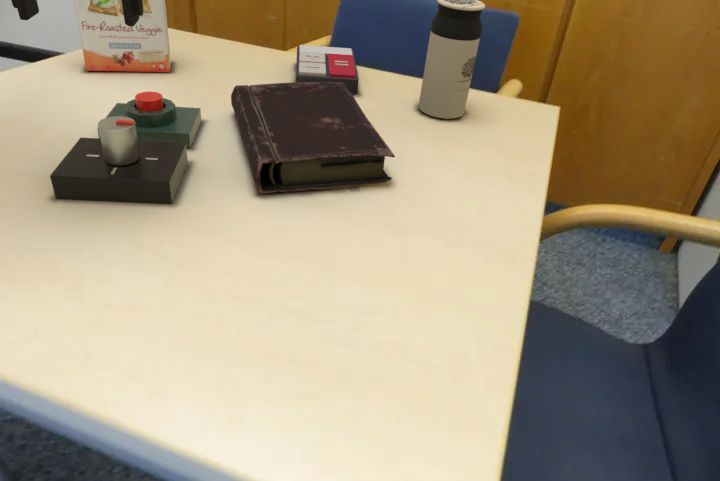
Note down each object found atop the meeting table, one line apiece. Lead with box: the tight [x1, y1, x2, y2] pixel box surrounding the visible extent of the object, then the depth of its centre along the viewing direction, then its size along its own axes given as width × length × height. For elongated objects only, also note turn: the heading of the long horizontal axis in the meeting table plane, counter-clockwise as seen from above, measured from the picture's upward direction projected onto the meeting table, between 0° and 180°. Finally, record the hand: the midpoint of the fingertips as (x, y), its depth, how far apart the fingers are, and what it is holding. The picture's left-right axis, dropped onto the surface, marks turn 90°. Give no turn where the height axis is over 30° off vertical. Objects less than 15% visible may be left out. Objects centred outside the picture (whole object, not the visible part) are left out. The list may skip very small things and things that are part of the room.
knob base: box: [49, 137, 189, 205], centre depth 67 cm, size 13×10×3 cm
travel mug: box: [418, 0, 486, 120], centre depth 91 cm, size 8×8×18 cm
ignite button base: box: [97, 97, 202, 149], centre depth 79 cm, size 12×9×4 cm
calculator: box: [295, 44, 360, 96], centre depth 103 cm, size 11×4×15 cm
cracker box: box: [73, 0, 172, 73], centre depth 94 cm, size 14×6×21 cm, turn 104°
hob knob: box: [97, 116, 140, 166], centre depth 65 cm, size 4×4×5 cm
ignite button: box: [134, 91, 164, 112], centre depth 77 cm, size 4×4×2 cm
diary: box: [230, 81, 395, 194], centre depth 79 cm, size 19×25×5 cm
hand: (82, 19), depth 55 cm, fingers open, 9 cm apart
